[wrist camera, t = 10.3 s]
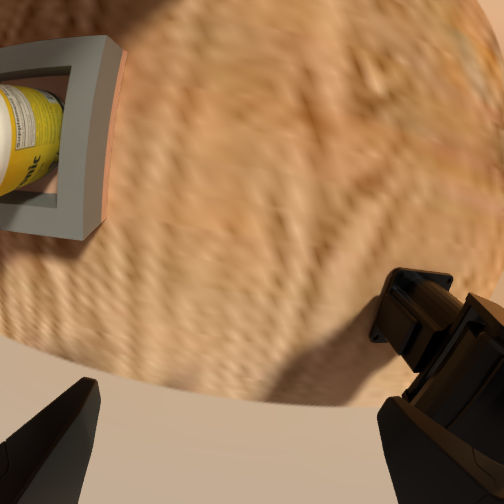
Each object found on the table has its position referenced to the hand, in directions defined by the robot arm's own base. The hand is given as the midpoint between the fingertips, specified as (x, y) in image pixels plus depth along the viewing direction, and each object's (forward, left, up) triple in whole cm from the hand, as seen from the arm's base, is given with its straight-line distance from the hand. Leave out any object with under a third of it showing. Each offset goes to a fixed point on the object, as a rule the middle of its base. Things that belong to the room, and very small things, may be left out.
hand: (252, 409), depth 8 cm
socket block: (+13, -6, -12) cm, 19 cm away
